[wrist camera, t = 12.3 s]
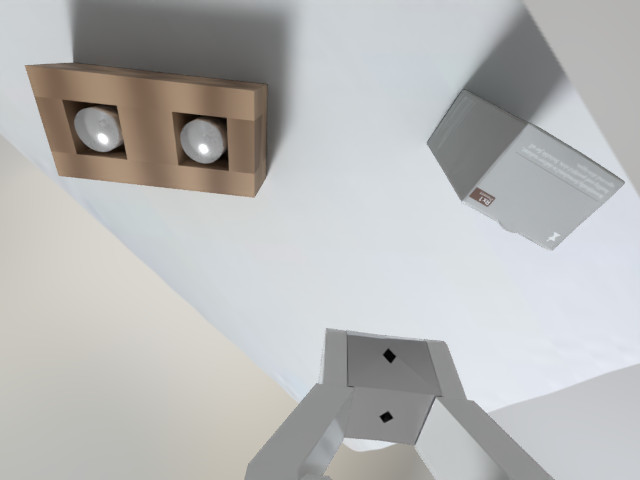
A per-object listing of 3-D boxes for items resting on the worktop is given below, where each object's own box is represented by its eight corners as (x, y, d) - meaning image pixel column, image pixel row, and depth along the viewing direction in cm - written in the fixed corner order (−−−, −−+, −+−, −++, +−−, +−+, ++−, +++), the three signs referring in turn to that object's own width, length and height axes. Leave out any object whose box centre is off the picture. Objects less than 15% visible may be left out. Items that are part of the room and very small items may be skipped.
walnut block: (96, 158, 39) (58, 175, 34) (72, 62, 34) (24, 65, 29) (266, 177, 39) (254, 197, 34) (267, 84, 34) (254, 90, 29)
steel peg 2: (203, 146, 37) (182, 160, 33) (200, 108, 35) (178, 118, 31) (238, 150, 37) (223, 165, 33) (237, 112, 35) (221, 122, 31)
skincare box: (525, 125, 35) (645, 175, 21) (479, 182, 38) (556, 259, 24) (459, 84, 33) (541, 110, 20) (417, 148, 37) (462, 208, 23)
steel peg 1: (113, 136, 37) (80, 149, 33) (105, 97, 35) (69, 105, 31) (149, 140, 37) (121, 154, 33) (143, 102, 35) (112, 110, 31)
